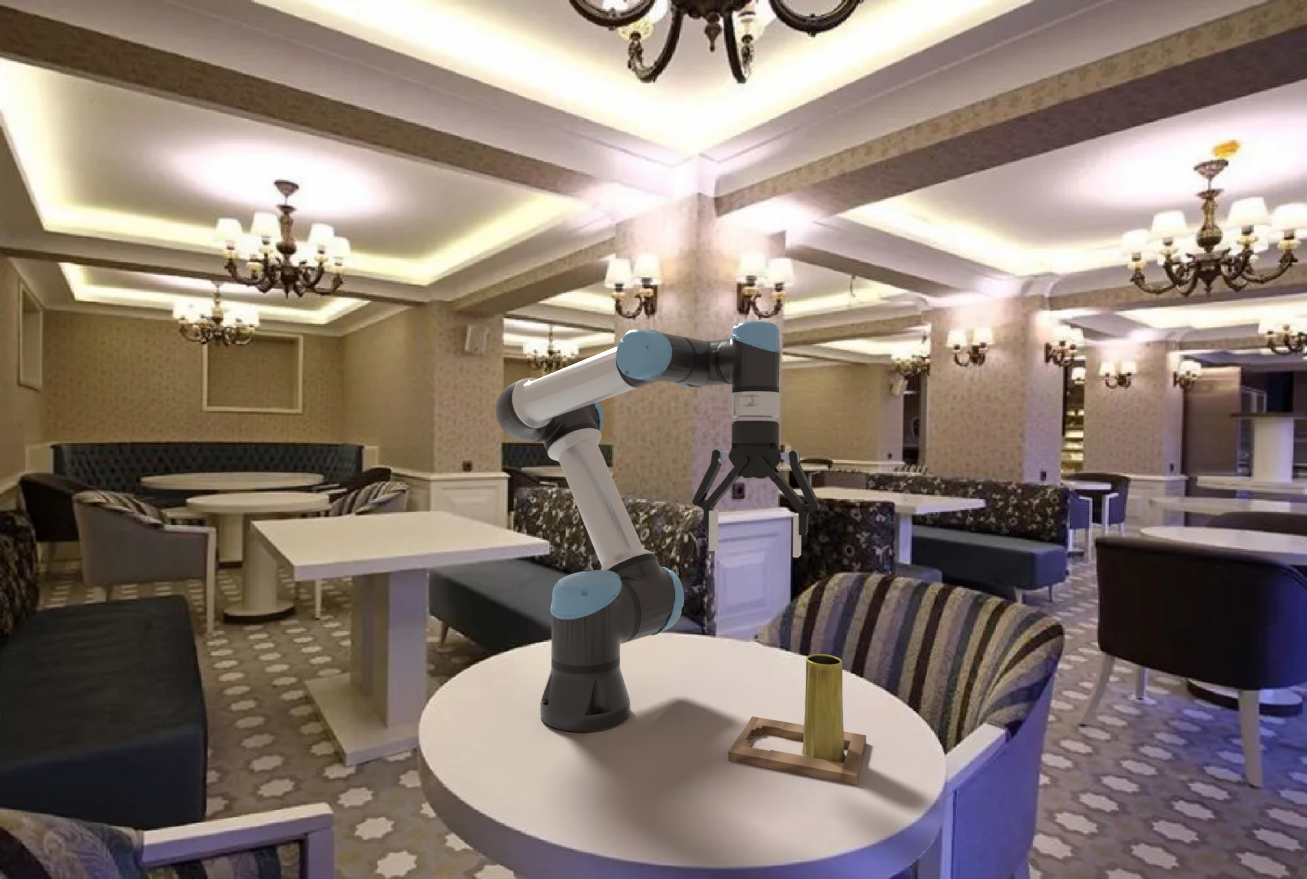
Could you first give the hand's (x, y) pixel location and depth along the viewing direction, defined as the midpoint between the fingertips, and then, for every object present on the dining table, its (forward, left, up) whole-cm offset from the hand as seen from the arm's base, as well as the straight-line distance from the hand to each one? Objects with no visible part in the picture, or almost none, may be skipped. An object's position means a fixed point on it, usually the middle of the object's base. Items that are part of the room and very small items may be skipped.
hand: (754, 553), depth 108 cm
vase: (+12, -4, -29) cm, 31 cm away
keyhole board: (+8, -4, -29) cm, 30 cm away
